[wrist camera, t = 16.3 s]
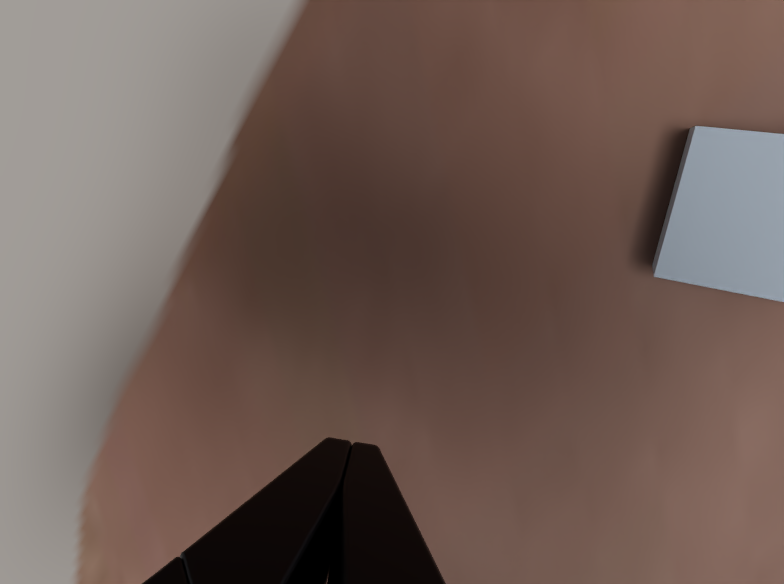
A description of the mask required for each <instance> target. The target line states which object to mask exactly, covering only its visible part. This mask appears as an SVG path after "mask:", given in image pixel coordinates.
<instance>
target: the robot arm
mask: <svg viewBox="0 0 784 584" xmlns="http://www.w3.org/2000/svg"><path fill="white" fill-rule="evenodd" d="M328 574H329V575H328ZM327 579H328V582H327ZM326 583H327V584H446V583H445V581H444V579H443V577H442V575H441V573H440V571H439V569H438V567H437V565H436V563H435V561H434V559H433V557H432V555H431V553H430V551H429V549H428V547H427V545H426V543H425V541H424V539H423V537H422V534H421V532H420V530H419V528H418V526H417V524H416V522H415V520H414V518H413V516H412V514H411V512H410V510H409V508H408V506H407V504H406V502H405V500H404V498H403V496H402V494H401V492H400V490H399V488H398V486H397V484H396V482H395V479H394V477H393V475H392V473H391V471H390V469H389V467H388V465H387V463H386V461H385V459H384V457H383V455H382V453H381V451H380V449H379V447H378V446H376V445H372V444H366V443H360V442H355V443H353V445H352V444H351V442H350V441H348V440H342V439H336V438H330V437H328V438H326V439H324V440H323V441H322V442H320V443H319V444H318V445H317V446H315V447H314V448H313V449H312V450H310V451H309V452H308V453H307V454H305V455H304V456H303V457H302V458H300V459H299V460H298V461H297V462H295V463H294V464H293V465H292V466H290V467H289V468H288V469H287V470H285V471H284V472H283V473H282V474H280V475H279V476H278V477H276V478H275V479H274V480H273V481H271V482H270V483H269V484H268V485H266V486H265V487H264V488H263V489H261V490H260V491H259V492H258V493H256V494H255V495H254V496H253V497H251V498H250V499H249V500H248V501H246V502H245V503H244V504H243V505H241V506H240V507H239V508H238V509H236V510H235V511H234V512H233V513H231V514H230V515H229V516H227V517H226V518H225V519H224V520H222V521H221V522H220V523H219V524H217V525H216V526H215V527H214V528H212V529H211V530H210V531H209V532H207V533H206V534H205V535H204V536H202V537H201V538H200V539H199V540H197V541H196V542H195V543H194V544H192V545H191V546H190V547H189V548H187V549H186V550H185V551H184V552H182V553H181V555H180V557H176V558H174V559H173V560H172V561H171V562H169V563H168V564H167V565H166V566H164V567H163V568H162V569H161V570H159V571H158V572H157V573H155V574H154V575H153V576H152V577H150V578H149V579H148V580H146V581H145V582H144V583H142V584H326Z"/></svg>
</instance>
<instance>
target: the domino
mask: <svg viewBox="0 0 784 584" xmlns="http://www.w3.org/2000/svg"><path fill="white" fill-rule="evenodd" d="M652 268H653V275H654V277H658V278H663V279H668V280H673V281H678V282H684V283H689V284H694V285H699V286H704V287H709V288H714V289H719V290H725V291H730V292H735V293H740V294H745V295H750V296H755V297H760V298H766V299H771V300H776V301H781V302H784V134H777V133H767V132H756V131H746V130H735V129H724V128H714V127H703V126H694V127H692V128H690V130H689V133H688V137H687V141H686V144H685V148H684V152H683V155H682V159H681V162H680V166H679V170H678V173H677V177H676V181H675V184H674V188H673V192H672V195H671V199H670V202H669V206H668V210H667V213H666V217H665V221H664V224H663V228H662V232H661V235H660V239H659V242H658V246H657V250H656V253H655V257H654V261H653V264H652Z"/></svg>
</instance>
